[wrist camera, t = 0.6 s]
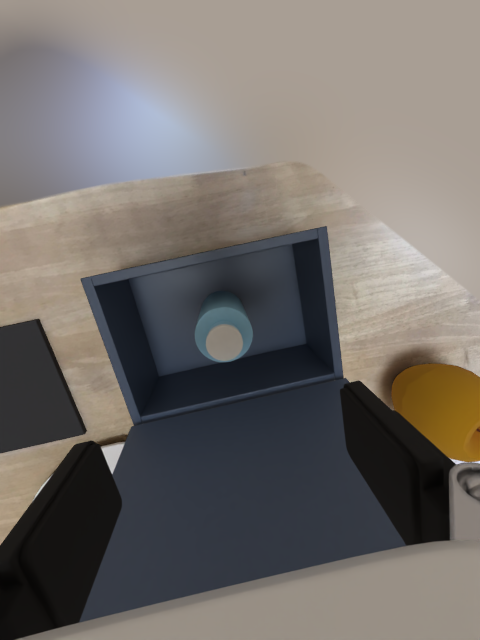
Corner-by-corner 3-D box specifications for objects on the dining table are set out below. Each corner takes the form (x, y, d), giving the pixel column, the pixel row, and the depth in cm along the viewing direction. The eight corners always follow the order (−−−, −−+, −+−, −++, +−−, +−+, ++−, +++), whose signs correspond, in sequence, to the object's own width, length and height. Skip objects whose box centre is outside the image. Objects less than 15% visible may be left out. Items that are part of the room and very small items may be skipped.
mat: (-88, 346, 29) (-94, 348, 29) (39, 318, 30) (35, 320, 29) (-25, 456, 33) (-29, 460, 33) (86, 431, 34) (84, 434, 33)
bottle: (196, 295, 30) (184, 320, 19) (238, 286, 30) (249, 306, 20) (206, 336, 31) (200, 379, 21) (247, 327, 31) (261, 365, 21)
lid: (23, 694, 10) (77, 742, 12) (514, 573, 11) (496, 636, 12) (131, 426, 24) (148, 467, 25) (345, 377, 24) (348, 421, 26)
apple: (457, 360, 35) (569, 413, 24) (421, 422, 37) (509, 497, 26) (394, 338, 34) (484, 383, 23) (361, 403, 36) (427, 474, 25)
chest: (120, 269, 29) (80, 278, 21) (295, 232, 30) (326, 226, 21) (155, 380, 33) (134, 426, 24) (311, 345, 33) (343, 379, 25)
